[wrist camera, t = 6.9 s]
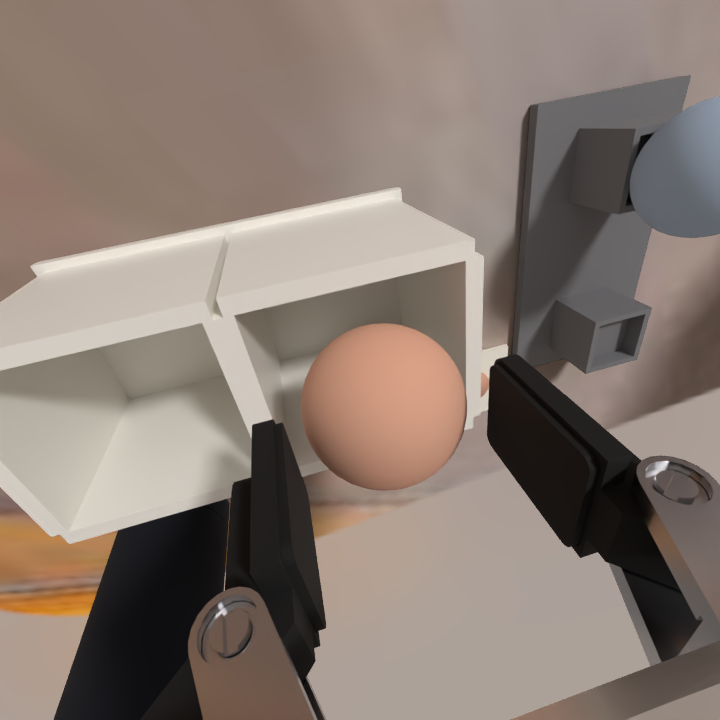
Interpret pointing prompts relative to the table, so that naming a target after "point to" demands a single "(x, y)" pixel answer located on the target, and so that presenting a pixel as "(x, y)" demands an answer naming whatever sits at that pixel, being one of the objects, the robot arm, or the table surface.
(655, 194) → the slate ball
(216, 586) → the wine bottle
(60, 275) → the two-slot cubby shelf
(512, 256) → the table surface
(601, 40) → the table surface
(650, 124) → the ball stand
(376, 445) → the terracotta ball
